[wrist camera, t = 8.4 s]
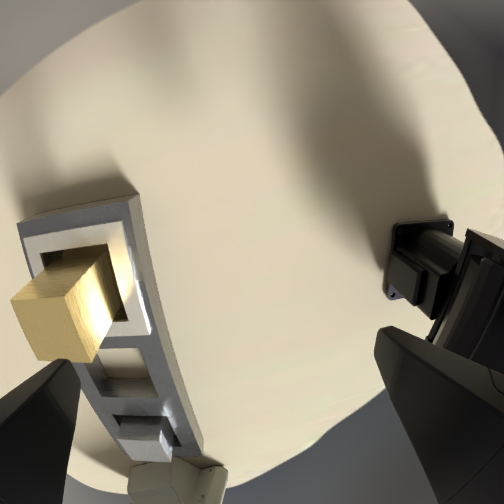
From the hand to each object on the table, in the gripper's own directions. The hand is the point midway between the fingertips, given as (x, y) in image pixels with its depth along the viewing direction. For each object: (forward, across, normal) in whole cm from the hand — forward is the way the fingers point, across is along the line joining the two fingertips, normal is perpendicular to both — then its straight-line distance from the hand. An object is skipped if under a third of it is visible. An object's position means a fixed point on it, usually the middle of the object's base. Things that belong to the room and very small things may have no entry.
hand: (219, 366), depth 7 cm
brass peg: (+13, +9, +2) cm, 16 cm away
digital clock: (+13, +11, +33) cm, 37 cm away
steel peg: (+13, +10, +18) cm, 24 cm away
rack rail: (+13, +10, +10) cm, 19 cm away
